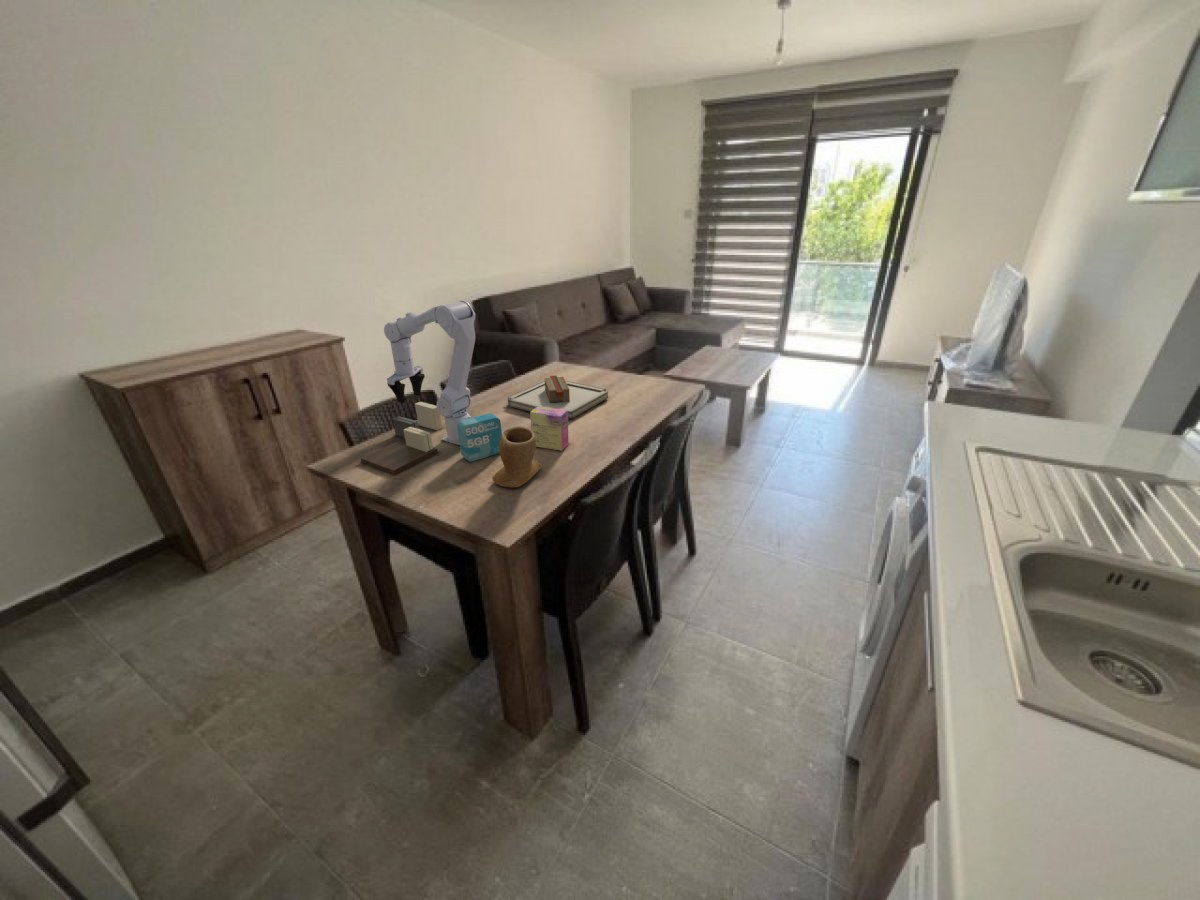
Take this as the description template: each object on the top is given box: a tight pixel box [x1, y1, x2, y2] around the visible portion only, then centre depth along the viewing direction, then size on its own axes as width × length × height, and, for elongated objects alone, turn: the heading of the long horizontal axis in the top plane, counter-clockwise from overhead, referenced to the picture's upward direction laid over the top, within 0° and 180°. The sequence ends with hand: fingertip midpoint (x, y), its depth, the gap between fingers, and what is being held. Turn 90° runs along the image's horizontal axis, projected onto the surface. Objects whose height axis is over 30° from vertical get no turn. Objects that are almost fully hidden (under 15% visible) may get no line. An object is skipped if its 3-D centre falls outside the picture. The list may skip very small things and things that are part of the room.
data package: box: [457, 412, 503, 463], centre depth 144 cm, size 12×4×12 cm, turn 126°
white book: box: [414, 401, 443, 431], centre depth 164 cm, size 9×2×8 cm, turn 59°
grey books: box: [391, 415, 420, 439], centre depth 157 cm, size 9×3×6 cm, turn 59°
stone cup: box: [491, 425, 543, 488], centre depth 131 cm, size 15×12×15 cm
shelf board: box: [360, 438, 439, 476], centre depth 145 cm, size 15×16×2 cm
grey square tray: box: [507, 375, 609, 420], centre depth 185 cm, size 30×30×8 cm
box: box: [529, 406, 569, 452], centre depth 150 cm, size 10×6×12 cm, turn 71°
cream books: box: [403, 427, 434, 452], centre depth 147 cm, size 9×3×6 cm, turn 59°
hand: (409, 398), depth 160 cm, fingers open, 7 cm apart
